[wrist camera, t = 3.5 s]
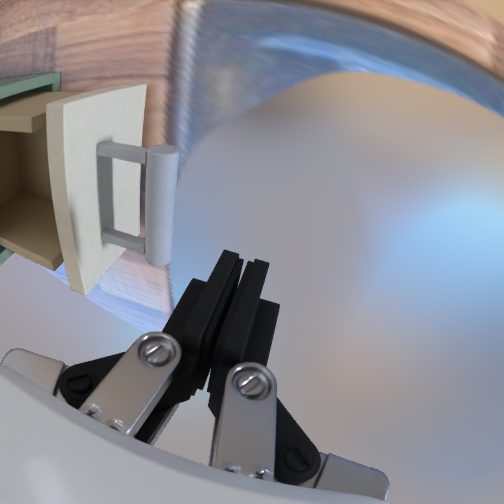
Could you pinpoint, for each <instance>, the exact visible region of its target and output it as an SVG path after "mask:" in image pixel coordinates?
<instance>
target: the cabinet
mask: <svg viewBox="0 0 504 504" xmlns="http://www.w3.org/2000/svg"><path fill="white" fill-rule="evenodd" d="M60 77H61V72H50V73H39V74H29V75H21V76H13V77H6V78H0V99H3V98H6V97H9V96H12V95H15V94H18V93H26V92H60ZM13 253H14V252H13V251H11V250H9V249H7V248H5V247H4V246H2V245H0V266H1V264H2V263H3V262H5V261H6V260H7V259H8V258H9V257H10V256H11V255H12V254H13Z"/></svg>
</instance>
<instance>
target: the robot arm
mask: <svg viewBox="0 0 504 504" xmlns="http://www.w3.org/2000/svg"><path fill="white" fill-rule="evenodd" d="M243 261H244V260H243V259H240V258H239V254H238V253H235V252H231V251H228V250H224V251H223V253H222V255H221V256H220V258H219V260H218V262H217V264H216V266H215V268H214V270H213V272H212V273H211V275H210V277H209V279H208V281H207V282H205V281H201V280H198V279H195V278H193V279H192V280H191V282H190V283H189V285H188V287H187V288H186V290H185V292H184V294H183V295H182V297H181V299H180V301H179V302H178V304H177V306H176V308H175V309H174V311H173V313H172V315H171V316H170V318H169V320H168V322H167V324H166V325H165V327H164V329H163V331H162V332H156V331H155V332H148V333H146V334H143V335H142V336H140V337H139V338H138V339H137V340H136V341H135V342H134V343H133V344H132V346H131V347H130V348H129V349H128V350H127V351H126V352H122V353H119V354H115V355H111V356H107V357H104V358H100V359H96V360H92V361H88V362H84V363H80V364H76V365H73V366H67V365H65V363H64V362H61V361H58V360H55V359H51V358H48V357H45V356H42V355H39V354H36V353H33V352H30V351H27V350H24V349H19V348H16V349H12V350H10V351H9V352H7V353H6V355H5V356H4V358H3V360H2V362H1V363H0V504H390V503H388V502H385V501H386V498H387V494H388V491H389V481H388V478H387V476H386V475H385V474H384V473H383V472H381V471H379V470H377V469H374V468H371V467H367V466H365V465H361V464H358V463H355V462H353V461H350V460H347V459H344V458H341V457H339V456H336V455H333V454H331V453H330V454H328V455H327V454H324V453H322V452H319V451H318V450H317V448H316V447H315V445H314V444H313V443H312V442H311V441H310V439H309V438H308V436H307V435H306V434H305V433H304V432H303V430H302V429H301V428H300V426H299V425H298V424H297V423H296V421H295V420H294V419H293V417H292V416H291V415H290V413H289V412H288V411H287V410H286V408H285V407H284V406H283V405H282V403H281V402H280V400H279V399H278V398H277V383H276V379H275V377H274V375H273V373H272V372H271V371H270V370H269V369H268V368H267V367H266V366H267V362H268V357H269V353H270V348H271V344H272V340H273V335H274V331H275V326H276V322H277V317H278V313H279V308H280V304H277V303H273V302H270V301H267V300H264V299H260V294H261V291H262V288H263V285H264V281H265V278H266V274H267V271H268V267H269V263H268V262H265V261H262V260H258V259H255V260H254V262H251V261H248V263H247V265H246V268H245V270H244V273H243V275H242V278H241V280H240V283H239V279H240V274H241V270H242V266H243ZM238 283H239V285H238ZM237 287H238V288H237ZM210 369H211V372H210ZM209 372H210V378H209V383H208V388H207V392H209V393H210V398H209V403H208V407H209V408H210V410H211V412H212V413H213V415H214V417H215V422H214V429H213V436H212V442H211V449H210V456H209V463H208V466H207V465H204V464H201V463H197V462H194V461H191V460H188V459H185V458H183V457H180V456H177V455H174V454H171V453H168V452H166V451H163V450H161V449H158V448H156V447H153V445H154V444H155V442H156V441H157V439H158V437H159V436H160V434H161V433H162V431H163V430H164V428H165V427H166V425H167V423H168V422H169V420H170V419H171V417H172V416H173V414H174V413H175V411H176V409H177V408H178V406H179V403H181V402H184V401H187V400H189V399H190V397H191V395H193V396H194V395H195V393H196V390H197V389H200V390H203V388H204V385H205V383H206V380H207V377H208V375H209Z"/></svg>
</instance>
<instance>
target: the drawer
mask: <svg viewBox="0 0 504 504" xmlns="http://www.w3.org/2000/svg"><path fill="white" fill-rule="evenodd" d="M146 90H147V84H146V83H132V82H131V83H125V84H120V85H115V86H111V87H106V88H102V89H98V90H93V91H89V92H26V93H18V94H15V95H12V96H9V97H6V98H3V99H0V245H2V246H4V247H5V248H7V249H9V250H11V251H13V252H15V253H17V254H19V255H21V256H23V257H25V258H27V259H29V260H31V261H33V262H35V263H38V264H40V265H42V266H44V267H46V268H48V269H50V270H53V271H55V270H56V269H57V268H58V267H59V266H60V265H61V264H62V263H63V262H64V264H65V268H66V272H67V276H68V280H69V284H70V288H71V289H72V290H73V291H75V292H78V293H80V294H82V295H84V296H87V294H88V293H89V292H90V291H91V289H92V288H93V287H94V286H95V285H96V283H97V282H98V281H99V280H100V279H101V277H102V276H103V275H104V274H105V273H106V271H107V270H108V269H109V268H110V267H111V266H112V264H113V263H114V262H115V261H116V260H117V259H118V258H119V256H120V255H121V254H122V253H123V252H124V251H125V250H126V249H130V250H133V251H136V252H139V253H142V254H145V258H146V261H147V262H148V263H149V264H150V265H153V266H164V265H167V264H168V263H169V262H170V261H171V257H172V236H173V220H174V205H175V193H176V181H177V170H178V161H179V149H178V148H177V147H175V146H171V145H164V144H161V145H154V146H151V147H149V148H144V147H142V133H143V120H144V109H145V99H146ZM141 164H144V165H145V164H147V166H146V191H145V239H144V238H141V237H138V235H139V234H140V169H141Z"/></svg>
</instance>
